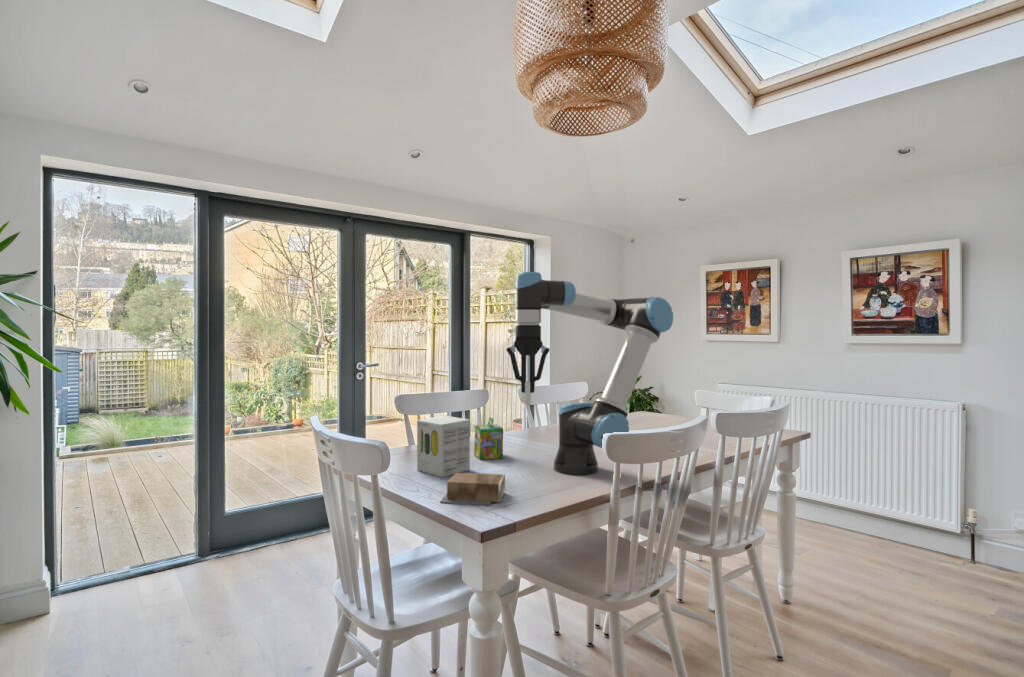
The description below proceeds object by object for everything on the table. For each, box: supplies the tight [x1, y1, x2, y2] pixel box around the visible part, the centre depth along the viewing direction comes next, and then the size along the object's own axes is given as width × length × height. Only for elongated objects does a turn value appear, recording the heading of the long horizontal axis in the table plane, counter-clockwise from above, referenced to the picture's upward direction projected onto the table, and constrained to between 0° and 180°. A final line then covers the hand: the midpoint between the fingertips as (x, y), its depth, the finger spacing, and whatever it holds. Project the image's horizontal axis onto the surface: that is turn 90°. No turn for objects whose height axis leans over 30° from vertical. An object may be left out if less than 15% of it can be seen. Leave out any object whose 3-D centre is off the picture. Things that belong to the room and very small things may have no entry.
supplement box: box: [416, 415, 471, 478], centre depth 186 cm, size 13×13×18 cm
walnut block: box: [446, 472, 506, 503], centre depth 157 cm, size 5×10×15 cm
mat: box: [439, 493, 492, 506], centre depth 159 cm, size 14×16×1 cm
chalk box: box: [473, 417, 504, 461], centre depth 205 cm, size 9×9×15 cm
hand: (527, 403), depth 162 cm, fingers closed
